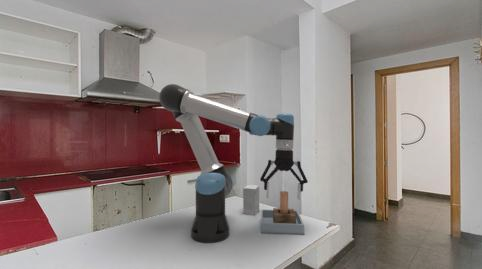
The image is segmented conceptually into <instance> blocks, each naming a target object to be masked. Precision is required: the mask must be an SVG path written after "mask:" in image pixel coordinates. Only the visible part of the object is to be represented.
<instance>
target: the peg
mask: <svg viewBox="0 0 482 269" xmlns="http://www.w3.org/2000/svg"><path fill="white" fill-rule="evenodd" d="M279 208H280V213H281V214H288V209H289V191H287V190H281V191H279Z"/></svg>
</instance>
